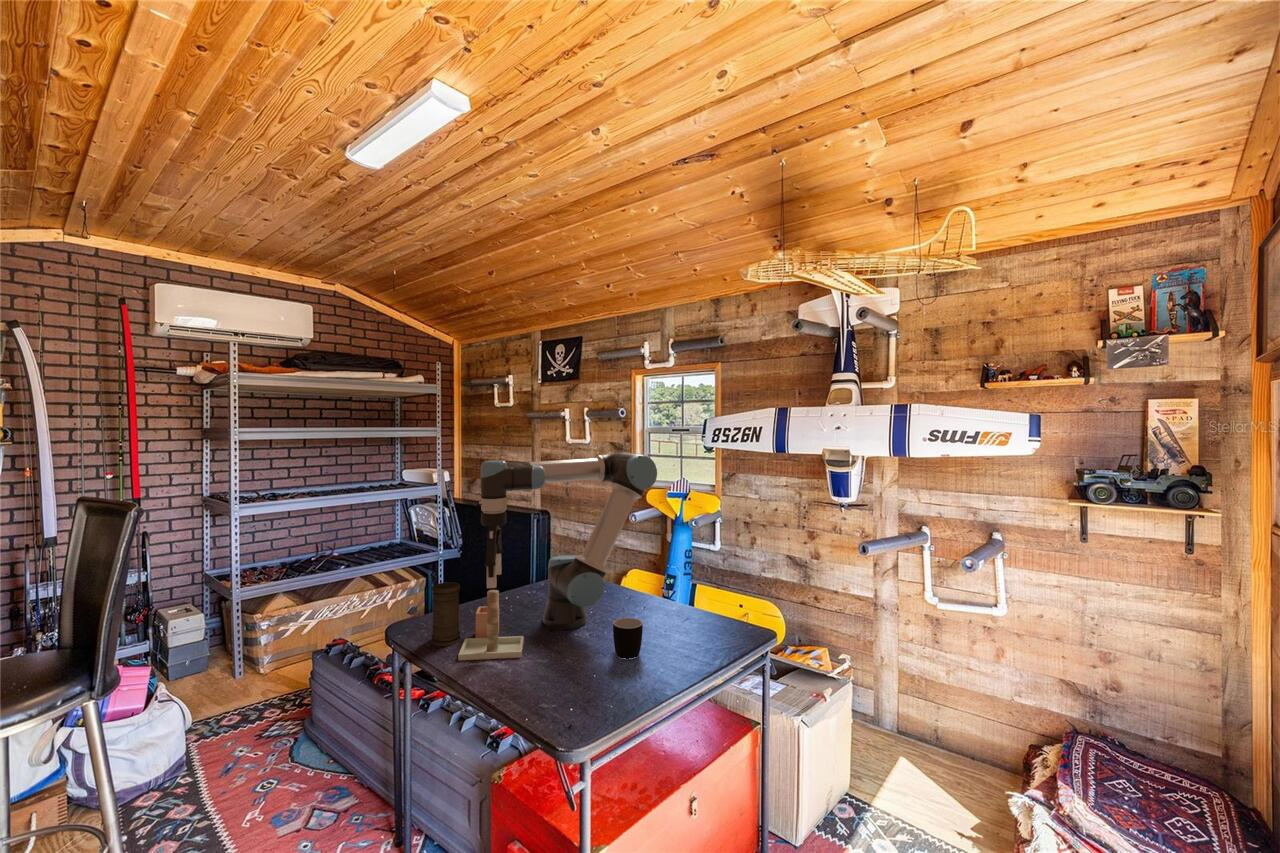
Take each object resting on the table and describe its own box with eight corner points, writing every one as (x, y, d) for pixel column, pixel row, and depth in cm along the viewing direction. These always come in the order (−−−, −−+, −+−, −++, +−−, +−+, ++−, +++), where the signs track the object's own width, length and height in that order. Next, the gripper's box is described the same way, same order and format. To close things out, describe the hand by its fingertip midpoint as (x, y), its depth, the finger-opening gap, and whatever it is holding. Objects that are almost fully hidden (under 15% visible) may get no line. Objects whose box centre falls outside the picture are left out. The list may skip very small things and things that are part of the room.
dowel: (498, 647, 171) (499, 589, 171) (497, 652, 168) (498, 593, 168) (487, 648, 171) (488, 590, 170) (485, 652, 168) (486, 593, 167)
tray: (523, 642, 177) (523, 636, 177) (521, 659, 165) (521, 651, 165) (465, 645, 174) (465, 638, 174) (458, 662, 162) (458, 654, 162)
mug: (648, 657, 167) (648, 624, 167) (623, 665, 162) (623, 630, 162) (626, 644, 177) (626, 612, 176) (602, 650, 172) (602, 618, 171)
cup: (498, 632, 185) (499, 605, 184) (496, 640, 178) (496, 612, 178) (478, 633, 184) (478, 606, 184) (475, 641, 177) (475, 613, 177)
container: (451, 648, 172) (451, 590, 171) (425, 646, 173) (425, 588, 173) (466, 637, 180) (466, 582, 180) (441, 635, 182) (441, 580, 182)
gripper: (486, 505, 181) (487, 569, 181) (474, 519, 156) (475, 594, 156) (510, 504, 182) (510, 568, 182) (502, 518, 157) (502, 593, 158)
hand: (494, 580), depth 169 cm, fingers open, 13 cm apart
